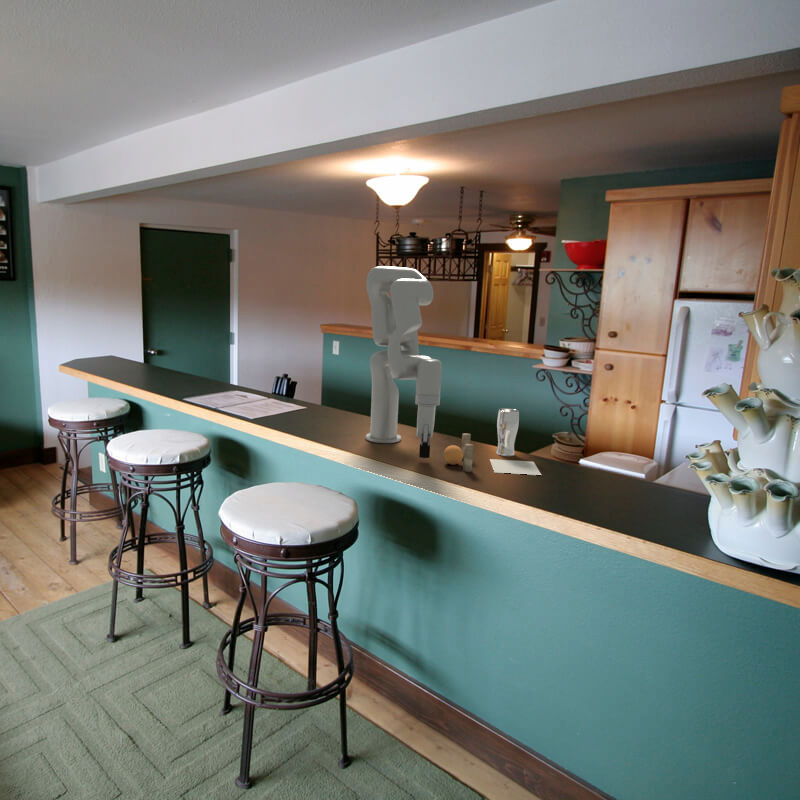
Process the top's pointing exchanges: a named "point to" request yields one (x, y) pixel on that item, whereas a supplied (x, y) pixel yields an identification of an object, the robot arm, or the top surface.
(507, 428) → the beer glass
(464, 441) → the back post
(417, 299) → the robot arm
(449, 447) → the ball
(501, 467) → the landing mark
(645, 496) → the top surface
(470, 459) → the front post
